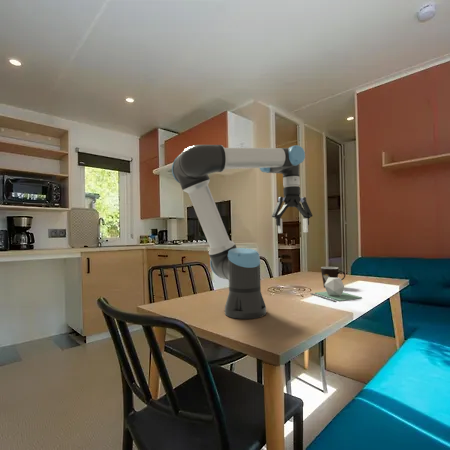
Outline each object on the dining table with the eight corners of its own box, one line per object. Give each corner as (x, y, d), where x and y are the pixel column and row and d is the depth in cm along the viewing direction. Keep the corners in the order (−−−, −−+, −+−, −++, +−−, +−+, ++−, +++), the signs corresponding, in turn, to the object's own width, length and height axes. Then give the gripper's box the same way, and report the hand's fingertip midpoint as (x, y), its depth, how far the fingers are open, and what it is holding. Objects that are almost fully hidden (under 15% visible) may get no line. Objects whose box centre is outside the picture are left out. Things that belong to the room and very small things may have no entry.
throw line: (334, 301, 116) (334, 301, 116) (310, 294, 132) (310, 293, 132) (336, 301, 117) (336, 300, 117) (312, 293, 132) (312, 293, 132)
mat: (339, 301, 117) (339, 300, 117) (314, 293, 132) (314, 292, 132) (361, 298, 121) (361, 297, 121) (335, 291, 136) (335, 290, 136)
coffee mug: (318, 286, 149) (317, 267, 149) (331, 285, 151) (331, 266, 151) (332, 290, 138) (331, 270, 138) (347, 289, 140) (346, 268, 140)
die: (346, 295, 128) (334, 277, 133) (351, 289, 121) (338, 270, 126) (330, 302, 127) (318, 284, 132) (334, 297, 120) (322, 277, 125)
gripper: (271, 184, 123) (273, 233, 123) (319, 186, 132) (320, 231, 131) (263, 187, 130) (265, 233, 130) (309, 188, 139) (310, 232, 138)
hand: (293, 232), depth 131 cm, fingers open, 13 cm apart
